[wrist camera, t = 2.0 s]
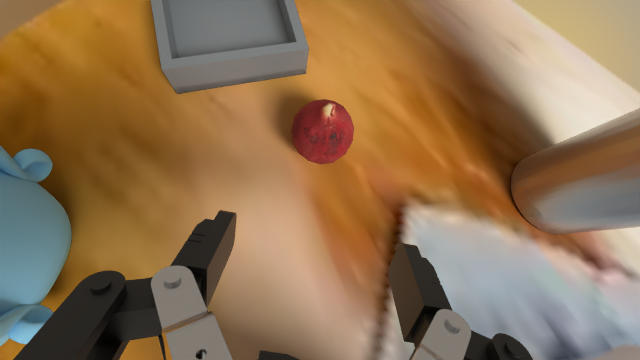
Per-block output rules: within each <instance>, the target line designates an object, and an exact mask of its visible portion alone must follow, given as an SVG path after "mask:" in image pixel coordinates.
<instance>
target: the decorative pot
mask: <svg viewBox="0 0 640 360" xmlns="http://www.w3.org/2000/svg"><path fill="white" fill-rule="evenodd" d="M52 167H53V163H52V160H51V159H50V157H49V156H48V155H47V154H46V153H44V152H43V151H40V150H37V149H24V150H22V151H20V152H18V153H17V154H16V155H15V156H14V158H12V157H11V156H10V155H9V154H8V153H7V152H6V151H5V150H4V148H3V147H2V146H1V145H0V346H1V345H3V344H4V343H5V342H6V341H7V340H8V339H9V338H10V339H12V340H14V341H16V342H18V343H22V344H27V343H28V342H29V341H30V340H31V339H32V337H33V336H34V335H35V334H36V333H37V332H38V331H39V329H40V328H41V327H42V326H43V325H44V324H45V323H46V321H47V320H48V319H49V318H50V317H51V316H52V314H53V312H52V310H50V309H49V308H47V307H45V306H43V305H40V304H41V303H42V301H43V300H44V299H45V297H46V296H47V294H48V293H49V291H50V289H51V288H52V286H53V285H54V283H55V281H56V279H57V277H58V276H59V274H60V272H61V270H62V268H63V266H64V263H65V261H66V259H67V256H68V253H69V250H70V247H71V241H72V230H71V224H70V221H69V217H68V215H67V213H66V211H65V210H64V208H63V206H62V205H61V204H60V203H59V202H58V201H57V200H56V199H55V198H54V197H53V196H52V195H51V194H50V193H48V192H47V191H46V190H45V189H44V188H42V187H41V186H40V185H39V184H37V182H40V181H42V180H44V179H45V178H46V177H47V176H48V175H49V174H50V172H51V170H52Z"/></svg>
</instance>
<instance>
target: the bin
mask: <svg viewBox="0 0 640 360" xmlns="http://www.w3.org/2000/svg"><path fill="white" fill-rule="evenodd" d="M151 6H152V12H153V18H154V24H155V31H156V37H157V43H158V50H159V56H160V62H161V69H162V71H163V73H164V74H165V76H166V77H167V79H168V81H169V82H170V84H171V85H172V87H173V88H174V90H175V92H176V93H177V94H179V93H186V92H192V91H198V90H205V89H211V88H217V87H224V86H230V85H236V84H243V83H249V82H255V81H262V80H268V79H274V78H281V77H287V76H293V75H300V74H306V68H307V60H308V52H309V48H308V44H307V41H306V38H305V35H304V31H303V28H302V25H301V21H300V18H299V15H298V12H297V8H296V5H295V2H294V0H151Z"/></svg>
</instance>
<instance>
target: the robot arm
mask: <svg viewBox="0 0 640 360" xmlns="http://www.w3.org/2000/svg"><path fill="white" fill-rule="evenodd" d="M511 191H512V196H513V199H514V202H515V204H516V206H517V208H518V209H519V211H520V212H521V214H522V215H523V216H524V217H525V219H526V220H528V221H529V222H530V223H531V224H532V225H533V226H535V227H537V228H538V229H540V230H542V231H545V232H547V233H551V234H569V233H579V232H589V231H601V230H611V229H621V228H631V227H640V108H639V109H637V110H635V111H632V112H630V113H628V114H625V115H623V116H621V117H618V118H616V119H614V120H611V121H609V122H607V123H604V124H602V125H600V126H597V127H595V128H593V129H590V130H588V131H586V132H583V133H581V134H579V135H577V136H574V137H572V138H570V139H567V140H565V141H563V142H560V143H558V144H555V145H553V146H551V147H548V148H546V149H544V150H541V151H539V152H537V153H534V154H532V155H530V156H528V157H526V158H524V159H522V160H521V161H520V162H519V163H518V164H517V165H516V167H515V168H514V170H513V173H512V177H511ZM235 228H236V213H233V212H228V211H222V210H220V211H219V212H218V214H217V216H216V217H215V219H214V220H210V219H205V220H204V221H202V222H201V223H199V224H198V225H197V226H196V227H195V229H194V230H193V232H192V234H191V235H190V236H189V238H188V240H187V241H186V242H185V244H184V246H183V247H182V249H181V250H180V252H179V253H178V255H177V256H176V258H175V259H174V261H173V262H172V264H171V265H170V266H169V267H166V268H164V269H162V270H160V271H159V272H157V273H156V274H155V275H154V277H151V278H146V279H136V280H126V281H125V277H124V276H123V275H122V274H121V273H119V272H117V271H102V272H98V273H95V274H92V275H90V276H88V277H87V278H85V279H84V280H83V281H81V282H80V283H79V284H78V286H77V287H76V288H75V289H74V290H73V291H72V293H71V294H70V295H69V296H68V297H67V298H66V299H65V301H64V302H63V303H62V304H61V305H60V306H59V308H58V309H57V310H56V311H55V312H54V313H53V314H52V316H51V317H50V318H49V319H48V320H47V321H46V323H45V324H44V325H43V326H42V327H41V328H40V329H39V331H38V332H37V333H36V334H35V335H34V336H33V337H32V339H31V340H30V341H29V342H28V343H27V344H26V346H25V347H24V348H23V349H22V350H21V351H20V352H19V354H18V355H17V356H16V357H15V358H14V359H13V360H119V358H120V356H121V355H122V353H123V351H124V349H125V348H126V346H127V344H128V342H129V340H135V339H141V338H147V337H153V336H157V339H158V343H159V347H160V351H161V355H162V360H233V359H232V356H231V354H230V352H229V349H228V347H227V344H226V342H225V340H224V337H223V335H222V332H221V330H220V328H219V325H218V323H217V320H216V318H215V316H214V314H213V313H212V312H208V310H207V308H208V305H209V303H210V301H211V298H212V296H213V293H214V291H215V289H216V286H217V284H218V282H219V279H220V277H221V275H222V272H223V270H224V268H225V265H226V263H227V261H228V258H229V256H230V253H231V251H232V248H233V245H234V239H235ZM389 280H390V285H391V289H392V293H393V297H394V301H395V306H396V310H397V314H398V318H399V322H400V326H401V331H402V335H403V339H404V341H405V342H411V343H414V346H415V349H414V351H413V353H412V354H411V356H410V358H409V360H533V359H532V357H531V355H530V354H529V352H528V351H527V349H526V348H525V347H524V346H523V345H522V344H521V343H520V342H519V341H517V340H516V339H514V338H513V337H511V336H509V335H506V334H502V333H498V334H496V335H495V336H494V337H493V338H492V339H489V338H487V337H485V336H482V335H480V334H478V333H476V332H474V331H472V330H471V329H470V327H469V325H468V323H467V322H466V321H465V320H464V319H463V318H462V317H461V316H460V315H459V314H457V313H456V312H454V311H452V308H451V306H450V304H449V302H448V299H447V297H446V295H445V292H444V290H443V288H442V285H440V281H439V278H438V277H437V274H436V272H435V269H434V267H433V266H432V264H431V263H430V262H429V261H428V260H427V259H426V258H423V257H421V254H420V252H419V249H418V247H417V246H415V245H409V244H404V243H400V244H399V246H398V248H397V251H396V253H395V255H394V257H393V260H392V262H391V264H390V267H389ZM258 360H299V359H297V358H294V357H292V356H290V355H287V354H281V353H274V352H267V351H260V354H259V359H258Z"/></svg>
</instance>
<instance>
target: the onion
mask: <svg viewBox="0 0 640 360" xmlns="http://www.w3.org/2000/svg"><path fill="white" fill-rule="evenodd" d="M353 132H354V126H353V123H352V120H351V117H350V115H349V113H348V112H347V111H346V109H345V108H344V107H343V106H342V105H340V104H338V103H336V102H335V101H331V100H325V99H324V100H315V101H312V102H310V103H308V104H307V105H305V106H303V107H302V108H301V109H300V111H299V112H298V113H297V114H296V116H295V117H294V121H293V125H292V129H291V133H292V138H293V143H294V145H295V147H296V149H297V151H298V152H299V154H301V155H302V156H303V157H304V158H306V159H307V160H308V161H311V162H315V163H318V164H326V163H333V162H334V161H336V160H337V159H339V158H340V157H342V156H343V155H344V154H346V152H347V150H348V148H349V147H350V145H351V143H352V141H353Z"/></svg>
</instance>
